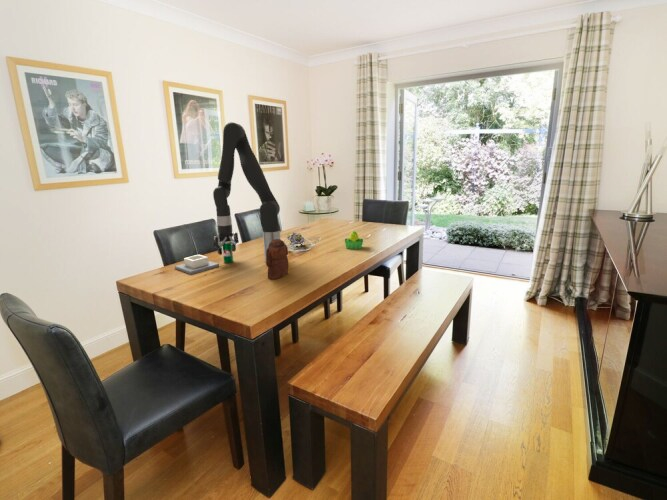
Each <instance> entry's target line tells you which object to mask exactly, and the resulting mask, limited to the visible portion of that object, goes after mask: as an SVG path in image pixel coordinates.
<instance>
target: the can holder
mask: <svg viewBox="0 0 667 500" xmlns="http://www.w3.org/2000/svg"><path fill="white" fill-rule="evenodd" d="M183 261H184V263H181V264H178V265H174V269H175V270H177V271H180V272H183V273H186V274H189V275H193V274H194V275H195V274H198V273H201V272H205V271H209V270H212V269H215V268H218V267H220V263H218V262H215V261H210V260H209V256H205V255H204V254H203V255H202V254H195V255H192V256H188V257H184V258H183Z"/></svg>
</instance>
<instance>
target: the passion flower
mask: <svg viewBox="0 0 667 500" xmlns="http://www.w3.org/2000/svg"><path fill="white" fill-rule="evenodd" d="M304 237H305V236H304V235H302V234H301V233H300V232H298V233H297V232H295V231H293V232H292V234H291V235H288V236H287V239H288V240H289V241H290V243H289V244H290V246H294V244H301V243H303V242H304V243H305V242H306V240H307V239H306V238H304Z"/></svg>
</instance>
